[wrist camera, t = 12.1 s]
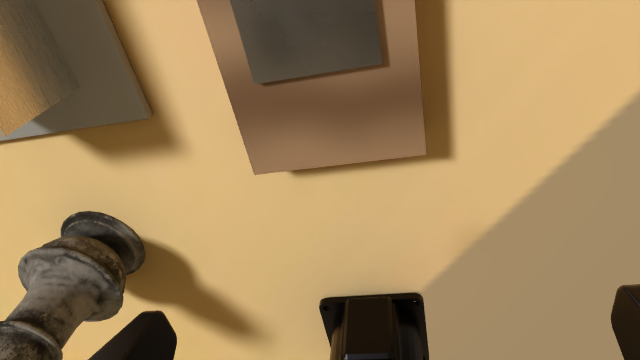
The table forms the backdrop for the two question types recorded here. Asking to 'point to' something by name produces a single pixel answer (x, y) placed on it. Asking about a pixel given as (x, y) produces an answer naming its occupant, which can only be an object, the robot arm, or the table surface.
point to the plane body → (320, 79)
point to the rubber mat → (88, 71)
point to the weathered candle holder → (70, 285)
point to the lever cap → (29, 66)
